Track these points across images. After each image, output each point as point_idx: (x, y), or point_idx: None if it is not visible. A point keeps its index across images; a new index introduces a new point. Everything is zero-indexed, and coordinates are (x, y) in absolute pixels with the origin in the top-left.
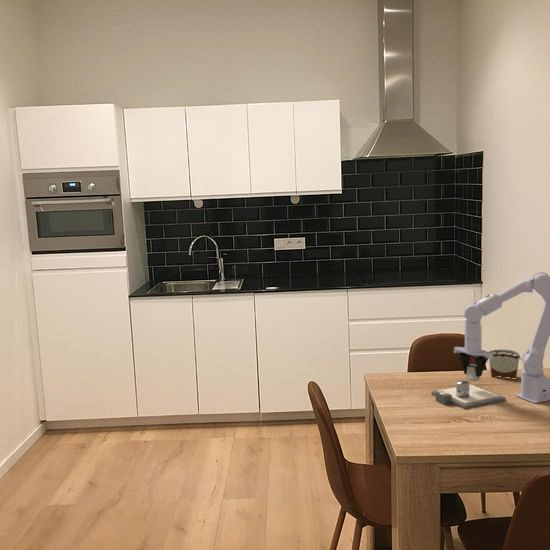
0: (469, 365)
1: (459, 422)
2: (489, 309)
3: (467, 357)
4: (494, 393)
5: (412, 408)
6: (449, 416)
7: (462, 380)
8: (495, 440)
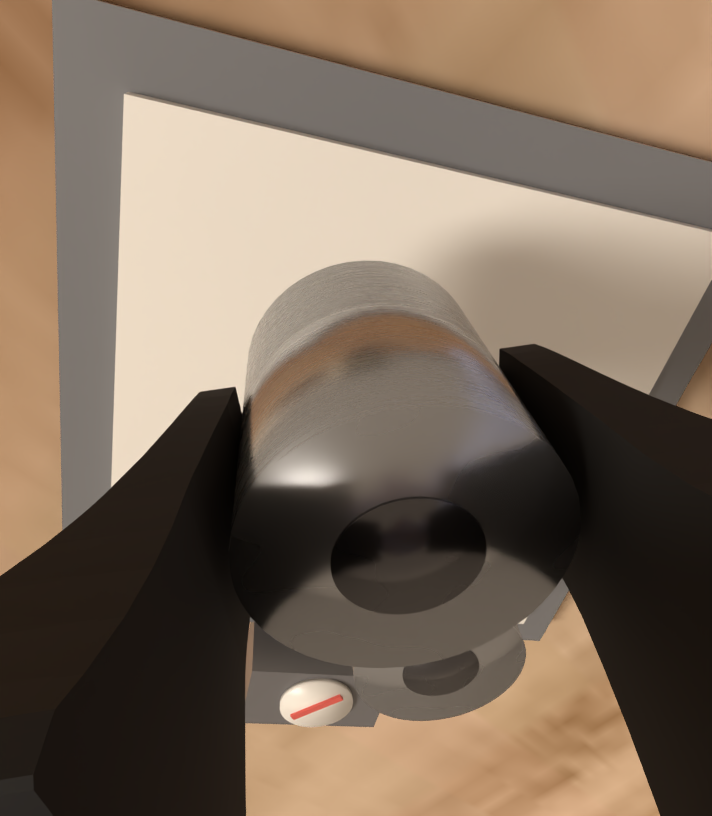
0: (319, 590)
1: (623, 747)
2: None
3: (186, 795)
4: (617, 148)
5: (266, 799)
6: (526, 737)
7: None
8: None
